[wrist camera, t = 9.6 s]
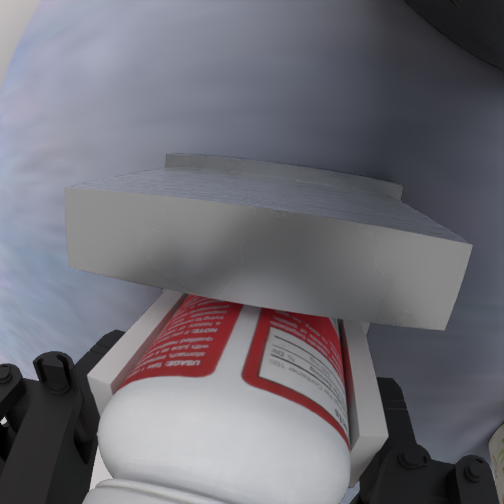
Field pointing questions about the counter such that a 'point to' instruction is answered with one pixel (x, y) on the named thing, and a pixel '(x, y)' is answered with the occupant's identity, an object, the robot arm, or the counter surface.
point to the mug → (498, 460)
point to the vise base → (270, 239)
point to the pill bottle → (230, 412)
